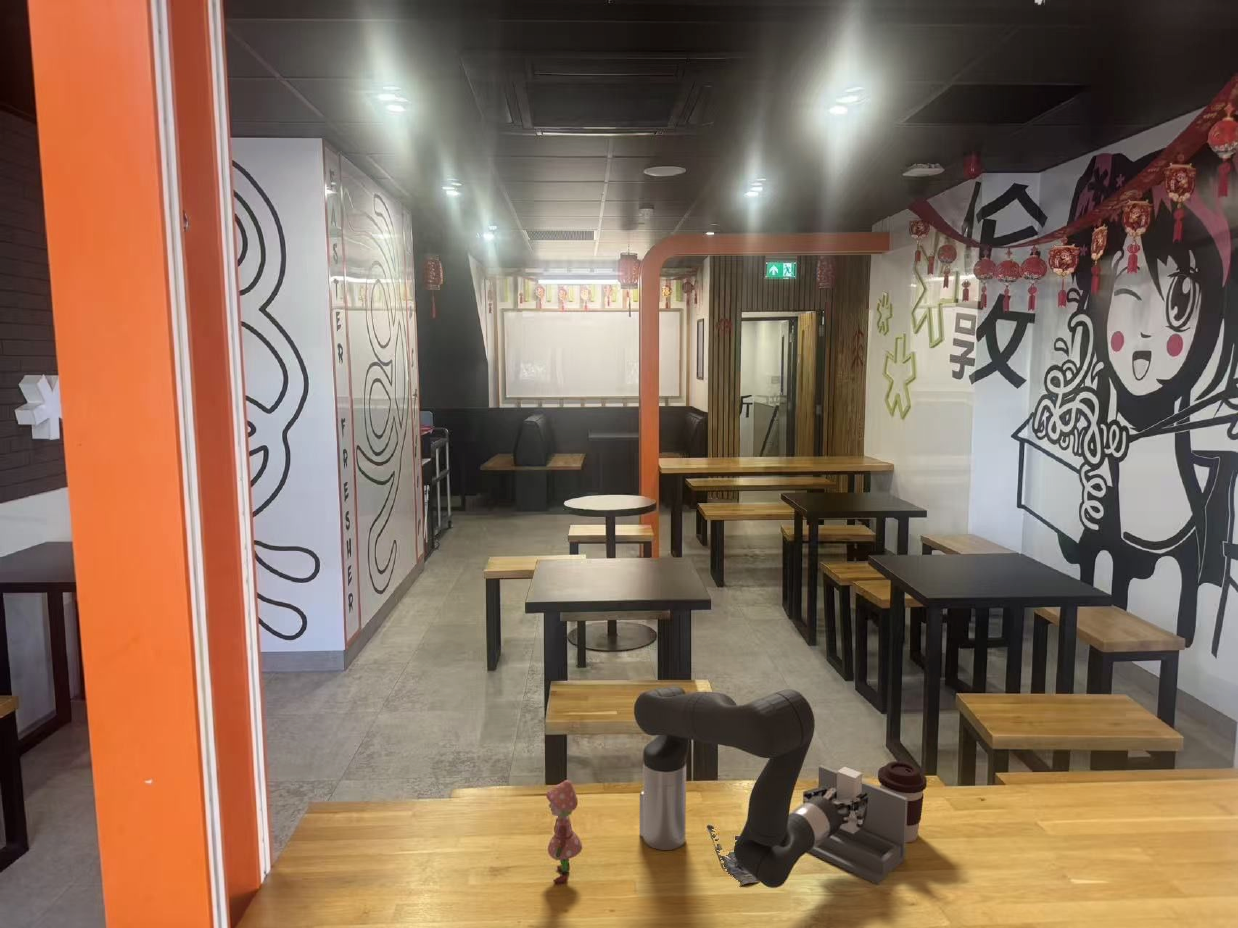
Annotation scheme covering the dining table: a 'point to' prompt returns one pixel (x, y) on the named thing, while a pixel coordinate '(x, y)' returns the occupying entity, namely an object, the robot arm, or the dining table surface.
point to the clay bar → (849, 791)
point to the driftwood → (733, 864)
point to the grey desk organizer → (868, 834)
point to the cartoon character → (563, 827)
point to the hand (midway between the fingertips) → (855, 792)
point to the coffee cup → (905, 791)
